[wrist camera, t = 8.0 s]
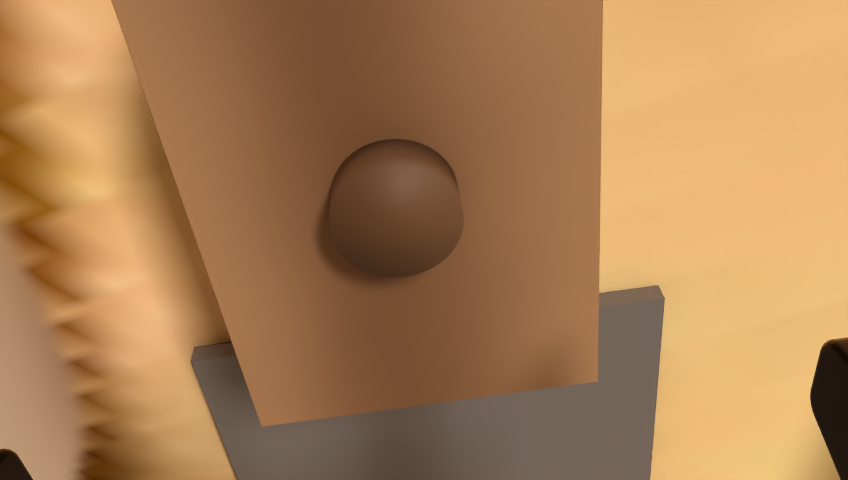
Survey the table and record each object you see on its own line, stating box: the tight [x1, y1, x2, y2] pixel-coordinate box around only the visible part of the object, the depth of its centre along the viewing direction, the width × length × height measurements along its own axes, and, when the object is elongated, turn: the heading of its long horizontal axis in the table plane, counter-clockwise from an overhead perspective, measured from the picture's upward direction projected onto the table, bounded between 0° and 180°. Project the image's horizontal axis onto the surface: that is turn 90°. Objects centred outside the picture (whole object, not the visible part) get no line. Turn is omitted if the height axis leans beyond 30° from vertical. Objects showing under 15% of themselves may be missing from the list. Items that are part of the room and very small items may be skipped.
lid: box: [111, 0, 603, 427], centre depth 13 cm, size 6×10×4 cm
